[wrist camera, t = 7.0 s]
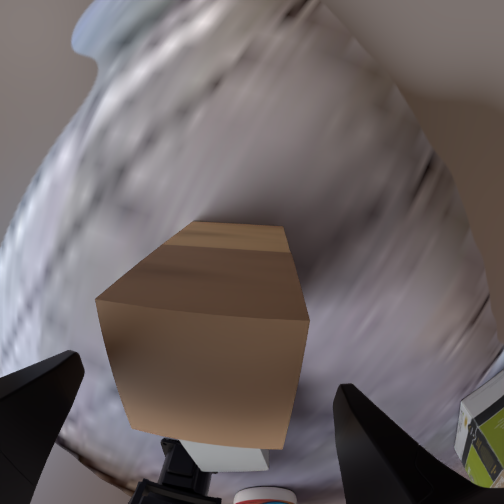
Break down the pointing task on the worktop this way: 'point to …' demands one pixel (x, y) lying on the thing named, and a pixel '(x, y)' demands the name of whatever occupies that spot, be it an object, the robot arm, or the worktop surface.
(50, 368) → the robot arm
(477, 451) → the tea box
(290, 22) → the worktop surface
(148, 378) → the walnut block
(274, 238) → the oak block
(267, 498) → the fruit juice
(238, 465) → the grey block
